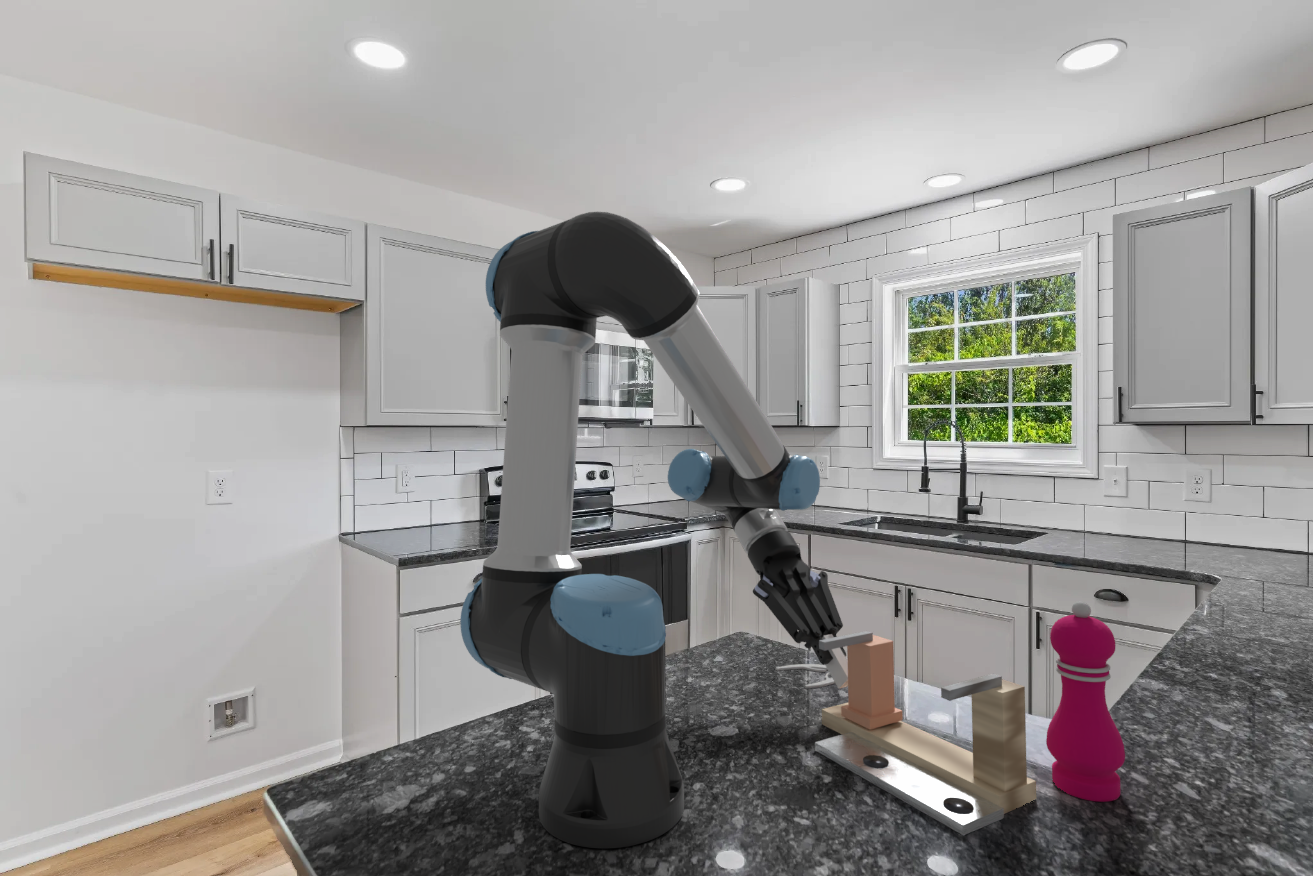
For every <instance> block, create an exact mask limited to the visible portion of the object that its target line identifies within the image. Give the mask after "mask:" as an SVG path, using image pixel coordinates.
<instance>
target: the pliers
mask: <svg viewBox="0 0 1313 876" xmlns="http://www.w3.org/2000/svg"><path fill="white" fill-rule="evenodd" d="M846 659H847V658H846ZM847 661H848V659H847ZM775 670H776V671H778V672H779V671H788V670H807V671H811V672H815V673H816V672H817V673H826V672H827V671H828V669H827V667H826V665H825V664H824V665H823V664H819V663H818V664H817V663H803V664H802V663H801V664H799V663H798V664H789V665H782V666H776V667H775ZM829 676H831V674H830V673H829V671H828V672H827V673H826V674H825V677H824V678H825V679H824V680H821V681H818V682H813V683H809V684H804V688H805V689H806V690H807V689H815V688H821V687H828V686H831V685H834V684H836V683H835V682H834V680H833V678H832V676H831V677H829Z"/></svg>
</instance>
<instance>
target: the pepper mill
mask: <svg viewBox="0 0 1313 876" xmlns="http://www.w3.org/2000/svg"><path fill="white" fill-rule="evenodd" d="M1071 612H1072V613H1073V614H1069V615H1066V616H1063V617H1060V618H1059V619H1058V620H1056V621H1055V622H1054V624H1053V625H1052V627H1051V629H1050V633H1049V639H1050V645H1051V647H1052V649H1053V650H1054V651H1055V652H1056V653H1057V655H1058V657H1056V659H1055V663H1056V664H1057V665H1056V667H1055V670H1056V673H1057V674H1059V675H1060V680H1061V697H1060V701H1059V705H1058V707H1057V709H1056V710H1055V713H1054V714H1053V717H1052V718H1051V720H1050V722H1049V725H1048V728H1047V732H1046V740H1045V742H1046V747H1047V750H1048V752H1049V753H1050V755H1051V756H1052V757H1053V758H1054V759H1055V761H1054V762H1053V763H1052V764H1051V776H1052V777H1051V778H1052V779H1053V780H1052V779H1051V780H1052V782H1054V783H1055V784H1054V783H1053V784H1054V786H1055V787H1056V786H1057V787H1056V788H1058V789H1059V788H1060V789H1061V790H1060V789H1059V790H1060V791H1062V790H1063V791H1064V792H1063V791H1062V792H1063V793H1065V792H1066V794H1067V795H1070V796H1072V797H1075V798H1078V799H1082V800H1085V801H1091V802H1097V803H1098V802H1099V803H1105V802H1113V801H1116V800H1118V799H1119V797H1120V796H1121V791H1122V790H1121V777H1120V775H1119V774H1118V773H1117V771H1118V770H1119V769H1120V768H1121V767H1122V766H1124V763H1125V760H1126V752H1125V751H1126V750H1125V745H1124V742H1123V738H1122V736H1121V734H1120V731H1119V729H1118V728H1117V726H1116V725H1117V724H1116V723H1115V721H1114V720H1113V718H1112V716H1111V713H1110V711H1109V708H1108V704H1107V700H1106V698H1107V697H1106V686H1107V685H1106V683H1107V681H1109V680H1111V677H1112V675H1111V673H1110V670H1111V665H1110V664H1109V663H1107V661H1108V660H1110V658H1112V656H1113V655H1114V653H1115V651H1116V639H1115V635H1114V634H1113V632H1112V630H1111V628H1110V627H1109V626H1108V625H1107V624H1105V623H1104V622H1103V621H1101V620H1100V619H1098V618H1095V617H1093V616H1090V615H1091V614H1092V609H1091V607H1090V605H1089V604H1088V603H1086V602H1085V601H1075V602H1074V603H1073V604H1072V605H1071Z"/></svg>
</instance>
